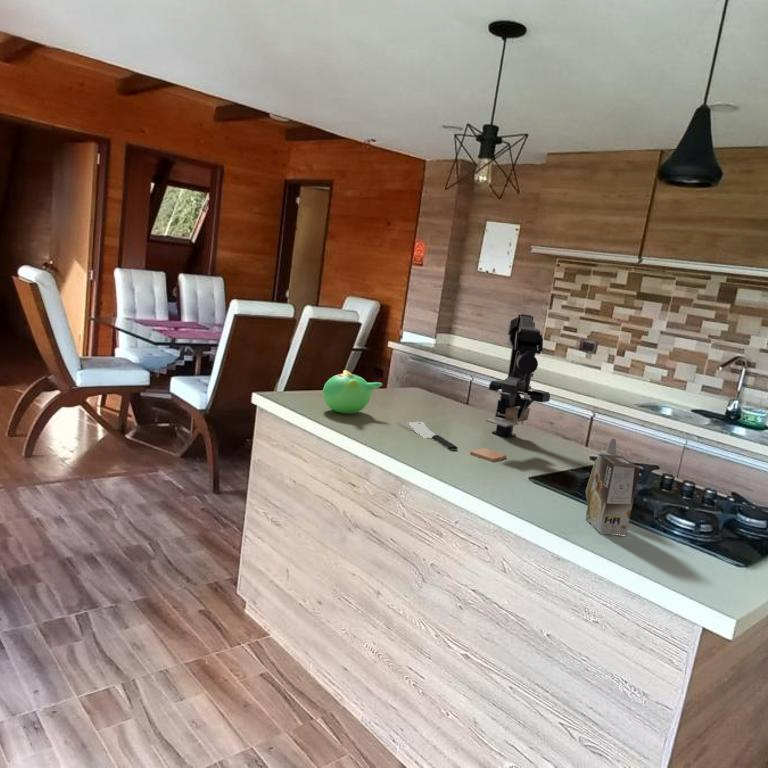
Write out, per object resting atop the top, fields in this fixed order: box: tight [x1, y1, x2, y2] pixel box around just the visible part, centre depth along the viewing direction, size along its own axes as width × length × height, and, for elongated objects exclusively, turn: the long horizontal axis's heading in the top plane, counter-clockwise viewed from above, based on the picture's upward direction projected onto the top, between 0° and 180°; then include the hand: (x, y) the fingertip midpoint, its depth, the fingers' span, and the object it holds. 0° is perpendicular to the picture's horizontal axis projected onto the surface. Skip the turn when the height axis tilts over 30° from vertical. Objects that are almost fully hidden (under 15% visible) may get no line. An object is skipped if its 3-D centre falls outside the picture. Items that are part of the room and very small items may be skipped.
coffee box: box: [585, 453, 641, 536], centre depth 143 cm, size 9×6×16 cm
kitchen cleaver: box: [407, 421, 458, 452], centre depth 206 cm, size 31×2×10 cm
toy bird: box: [322, 369, 383, 415], centre depth 222 cm, size 18×17×15 cm
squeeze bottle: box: [585, 437, 621, 504], centre depth 156 cm, size 8×8×18 cm
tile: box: [469, 447, 507, 463], centre depth 192 cm, size 1×8×8 cm
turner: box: [485, 406, 531, 427], centre depth 198 cm, size 18×7×4 cm, turn 140°
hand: (514, 417), depth 200 cm, fingers closed on turner, 3 cm apart
